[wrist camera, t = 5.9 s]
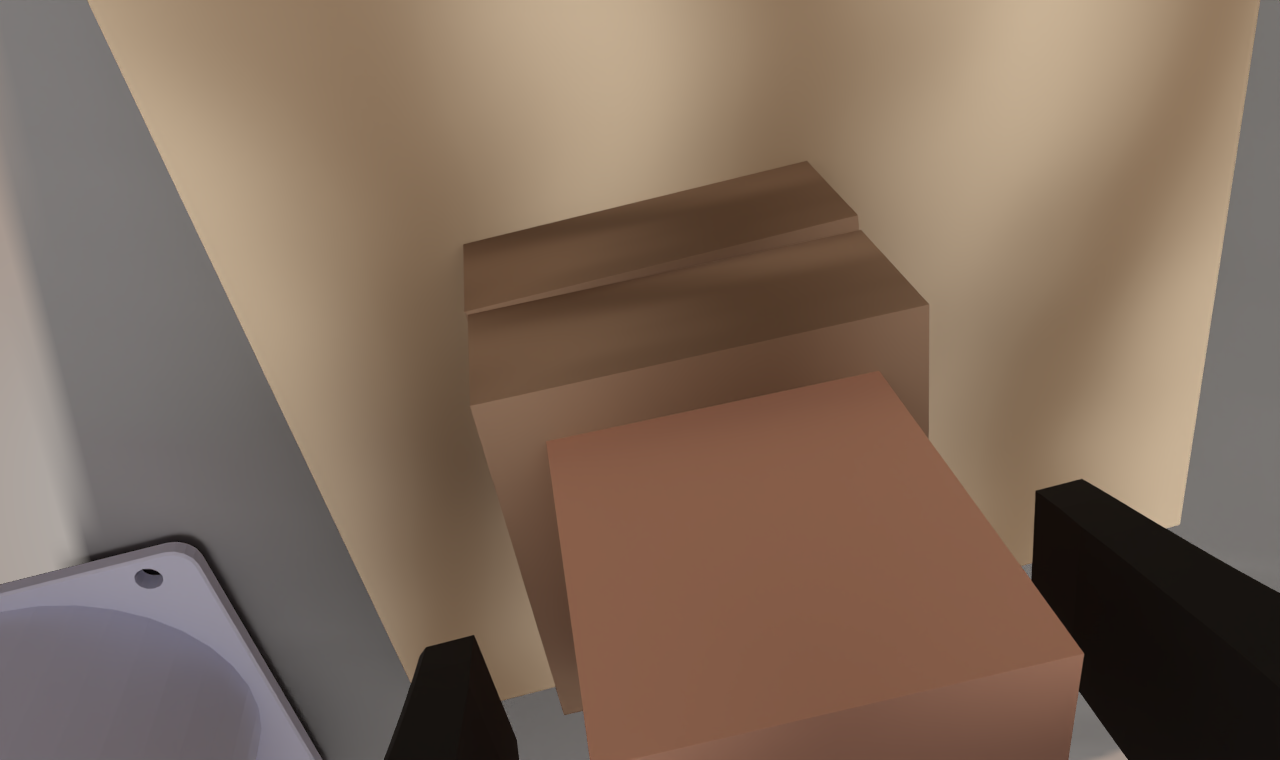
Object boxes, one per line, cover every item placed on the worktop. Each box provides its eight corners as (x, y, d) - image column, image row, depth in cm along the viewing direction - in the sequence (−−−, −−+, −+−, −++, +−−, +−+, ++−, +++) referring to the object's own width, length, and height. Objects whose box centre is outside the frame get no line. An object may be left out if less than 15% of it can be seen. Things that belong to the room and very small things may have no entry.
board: (429, 685, 23) (428, 720, 22) (-149, -573, 11) (-198, -601, 10) (1153, 498, 24) (1179, 524, 23) (1334, -875, 12) (1401, -926, 11)
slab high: (551, 603, 18) (564, 715, 15) (467, 315, 14) (469, 405, 12) (871, 528, 18) (927, 628, 16) (861, 229, 15) (929, 304, 12)
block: (602, 673, 15) (659, 1018, 11) (546, 441, 13) (590, 768, 8) (881, 610, 15) (1043, 921, 11) (878, 370, 13) (1084, 653, 9)
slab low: (547, 511, 20) (558, 599, 17) (462, 244, 16) (464, 311, 14) (834, 438, 20) (879, 516, 18) (806, 160, 17) (857, 215, 14)
